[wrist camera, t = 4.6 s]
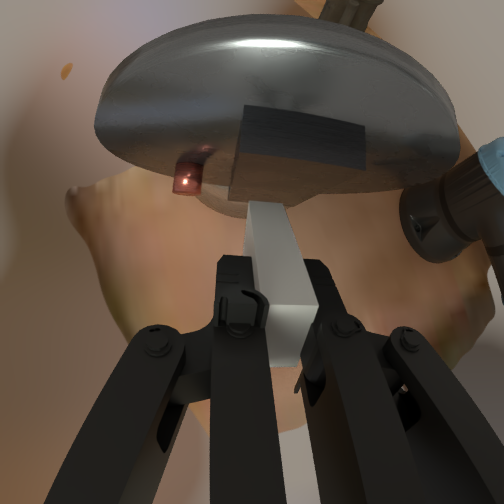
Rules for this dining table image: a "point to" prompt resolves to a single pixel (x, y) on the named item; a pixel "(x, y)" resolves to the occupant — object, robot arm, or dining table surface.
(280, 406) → the dining table surface
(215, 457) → the robot arm
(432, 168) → the cooker lid
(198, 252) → the dining table surface
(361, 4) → the beer stein
